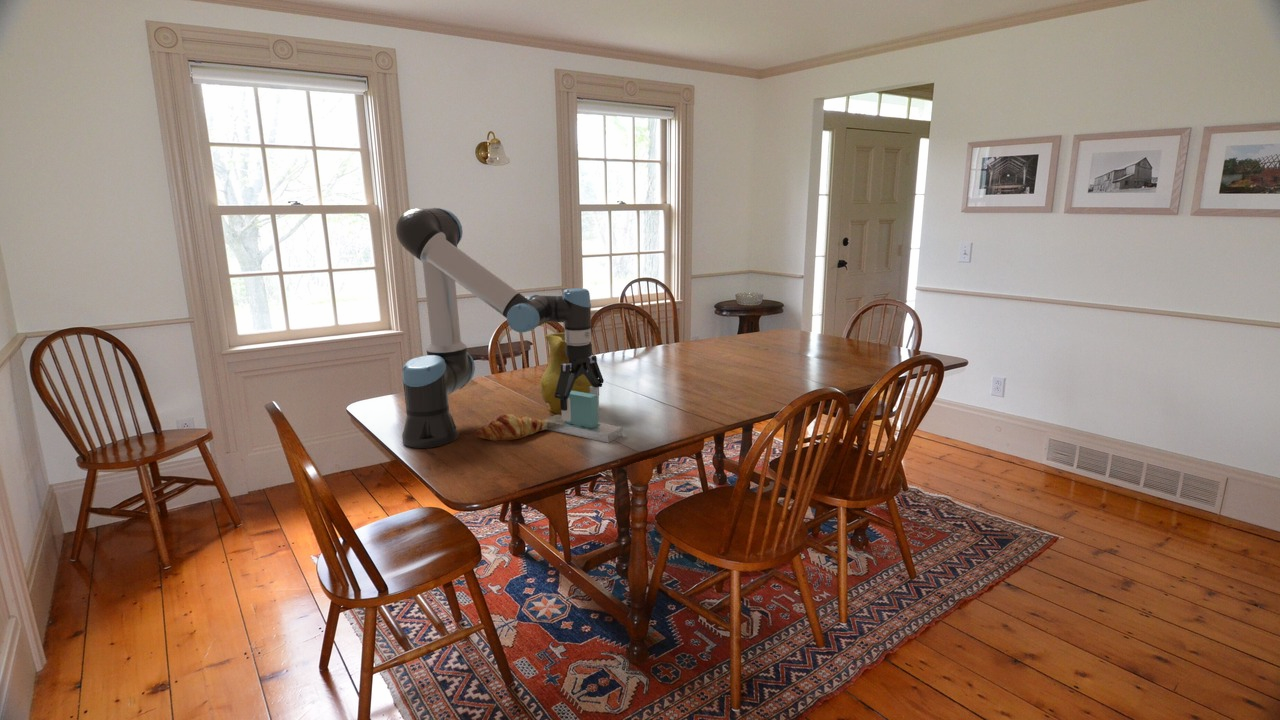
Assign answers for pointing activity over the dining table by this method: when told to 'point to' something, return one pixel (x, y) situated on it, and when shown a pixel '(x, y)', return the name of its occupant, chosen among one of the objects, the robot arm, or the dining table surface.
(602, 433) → the rail
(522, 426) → the croissant
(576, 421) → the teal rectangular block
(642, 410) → the dining table surface
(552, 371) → the pitcher
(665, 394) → the dining table surface
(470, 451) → the dining table surface
